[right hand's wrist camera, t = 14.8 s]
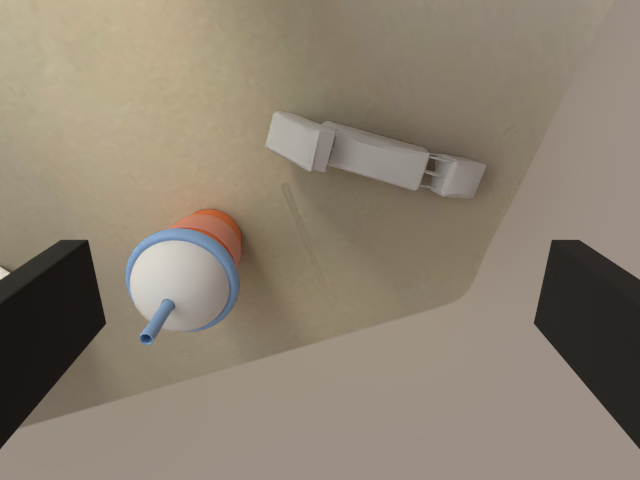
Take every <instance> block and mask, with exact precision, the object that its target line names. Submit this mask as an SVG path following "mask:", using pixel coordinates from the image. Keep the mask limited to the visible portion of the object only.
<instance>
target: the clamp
mask: <svg viewBox="0 0 640 480" xmlns="http://www.w3.org/2000/svg"><path fill="white" fill-rule="evenodd" d="M266 148H267V149H268V150H269V151H272V152H274V153H275V154H277V155H279V156H281V157H283V158H285V159H287V160H289V161H291V162H292V163H294V164H296V165H298V166H300V167H302V168H303V169H305V170H307V171H309V172H311V171H312V170H313V171H317V172H321V173H325V171H326V167H327V165H328V166H331V167H335V168H338V169H341V170H344V171H348V172H351V173H354V174H358V175H361V176H365V177H369V178H372V179H376V180H379V181H383V182H386V183H389V184H393V185H396V186H399V187H402V188H406V189H409V190H415V191H416V190H417V189H419V188H427V187H428V188H430V190H431V191H433V192H435V193H437V194H439V195H441V196H443V197H447V198H464V199H473V198H474V196H475V193H476V191H477V188H478V186H479V183H480V181H481V178H482V176H483V174H484V171H485V169H486V165H485V164H482V163H480V162H477V161H474V160H472V159H469V158H464V157H458V156H452V155H446V154H434V153H429V152H428V151H427V149H425V148H424V147H421V146H417V145H413V144H410V143H406V142H402V141H399V140H395V139H391V138H388V137H384V136H381V135H377V134H373V133H370V132H366V131H363V130H359V129H356V128H352V127H348V126H345V125H341V124H338V123H334V122H331V121H325V122H323V123H322V124H321V125H320V124H318V123H316V122H313V121H311V120H308V119H306V118H304V117H301V116H299V115H296V114H294V113H290V112H284V111H276V112H275V113H274V114H273V117H272V121H271V125H270V129H269V133H268V138H267V142H266ZM430 155H434V156H436V157H433V156H430ZM429 158H432V159H435V171H434V172H433V171H429V170H425V169H426V167H427V164H428V161H429ZM424 173H426V174H429V175H432V176H433V178H432V181H431V184H430V186H428V185H424V184H421V181H422V178H423V175H424ZM420 185H421V186H420Z"/></svg>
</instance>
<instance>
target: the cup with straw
mask: <svg viewBox="0 0 640 480" xmlns="http://www.w3.org/2000/svg"><path fill="white" fill-rule="evenodd" d="M240 258H241V233H240V230H239V228H238V226H237V224H236V223H235V221H234V220H233V219H232V218H231V217H229V216H228V215H227V214H225V213H223V212H220V211H217V210H212V209H206V210H200V211H197V212H195V213H193V214H192V215H190V216H188V217H185V218H183V219H181V220H180V221H178V222H177V223H175V224H174V225H173V226H171V227H170V228H168V229H166V230H162V231H159V232H156V233H154V234H152V235H150V236H148V237H147V238H145V239H144V240H143V241H141V242H140V243H139V244H138V245H137V246H136V248H135V249H134V250H133V252H132V254H131V255H130V257H129V260H128V263H127V266H126V273H125V279H126V286H127V290H128V293H129V295H130V298H131V300H132V301H133V303H134V304H135V306H136V307H137V309H138V310H139V312H140V313H141V314H142V315H143V316H144V317H145V318H146V319H147V320H148V321H150V322H149V323H148V325H147V326H146V328H145V329H144V331H143V332H142V334H141V335H140V337H139V340H140V342H141V343H142V344H144V345H149V344H151V343H152V342H153V341H154V339H155V337H156V336H157V334H158V332H159V331H160V329H161V328H163V329H166V330H171V331H183V332H191V331H199V330H203V329H206V328H209V327H211V326H213V325H215V324H217V323H218V322H220V321H221V320H222V319H224V318H225V317H226V316H227V315H228V313H229V312H230V311H231V309H232V308H233V306H234V304H235V302H236V300H237V297H238V293H239V274H238V268H239V263H240Z"/></svg>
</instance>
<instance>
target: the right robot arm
mask: <svg viewBox="0 0 640 480" xmlns="http://www.w3.org/2000/svg"><path fill="white" fill-rule="evenodd" d="M105 324H106V321H105V316H104V312H103V307H102V302H101V298H100V293H99V288H98V284H97V279H96V275H95V270H94V265H93V261H92V256H91V252H90V247H89V242H88V240H60V241H59V242H57V243H56V244H54V245H53V246H51V247H49V248H48V249H46V250H45V251H43V252H42V253H40V254H39V255H37V256H36V257H34V258H33V259H31V260H30V261H28V262H27V263H25V264H24V265H22V266H21V267H19V268H17V269H16V270H14V271H13V272H11V273H10V274H8V275H7V276H5V277H4V278H2V279H1V280H0V449H1V447H2V446H3V445H4V444H5V443H6V442H7V440H8V439H9V438H10V437H11V436H12V434H13V433H14V432H15V431H16V430H17V429H18V427H19V426H20V425H21V424H22V423H23V421H24V420H25V419H26V418H27V417H28V415H29V414H30V413H31V412H32V411H33V410H34V408H35V407H36V406H37V405H38V404H39V402H40V401H41V400H42V399H43V398H44V396H45V395H46V394H47V393H48V392H49V391H50V389H51V388H52V387H53V386H54V385H55V383H56V382H57V381H58V380H59V379H60V378H61V376H62V375H63V374H64V373H65V372H66V370H67V369H68V368H69V367H70V366H71V364H72V363H73V362H74V361H75V360H76V359H77V357H78V356H79V355H80V354H81V353H82V351H83V350H84V349H85V348H86V347H87V345H88V344H89V343H90V342H91V341H92V340H93V338H94V337H95V336H96V335H97V334H98V332H99V331H100V330H101V329H102V328H103V327H104V325H105ZM534 324H535V325H536V327H537V328H538V329H539V330H540V331H541V332H542V334H543V335H544V336H545V337H546V338H547V340H548V341H549V342H550V343H551V344H552V345H553V347H554V348H555V349H556V350H557V351H558V353H559V354H560V355H561V356H562V357H563V359H564V360H565V361H566V362H567V363H568V364H569V366H570V367H571V368H572V369H573V370H574V372H575V373H576V374H577V375H578V376H579V377H580V379H581V380H582V381H583V382H584V383H585V385H586V386H587V387H588V388H589V389H590V391H591V392H592V393H593V394H594V395H595V396H596V398H597V399H598V400H599V401H600V402H601V404H602V405H603V406H604V407H605V408H606V410H607V411H608V412H609V413H610V414H611V415H612V417H613V418H614V419H615V420H616V421H617V423H618V424H619V425H620V426H621V427H622V428H623V430H624V431H625V432H626V433H627V434H628V436H629V437H630V438H631V439H632V440H633V442H634V443H635V444H636V445H637V446H638V447H639V449H640V280H639V279H638V278H636V277H635V276H633V275H632V274H630V273H629V272H627V271H626V270H624V269H622V268H621V267H619V266H618V265H616V264H615V263H613V262H612V261H610V260H609V259H607V258H606V257H604V256H603V255H601V254H600V253H598V252H597V251H595V250H594V249H592V248H591V247H589V246H587V245H586V244H584V243H583V242H581V241H580V240H552V242H551V247H550V252H549V256H548V261H547V265H546V270H545V275H544V279H543V284H542V289H541V293H540V298H539V302H538V307H537V312H536V316H535V321H534Z"/></svg>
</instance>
